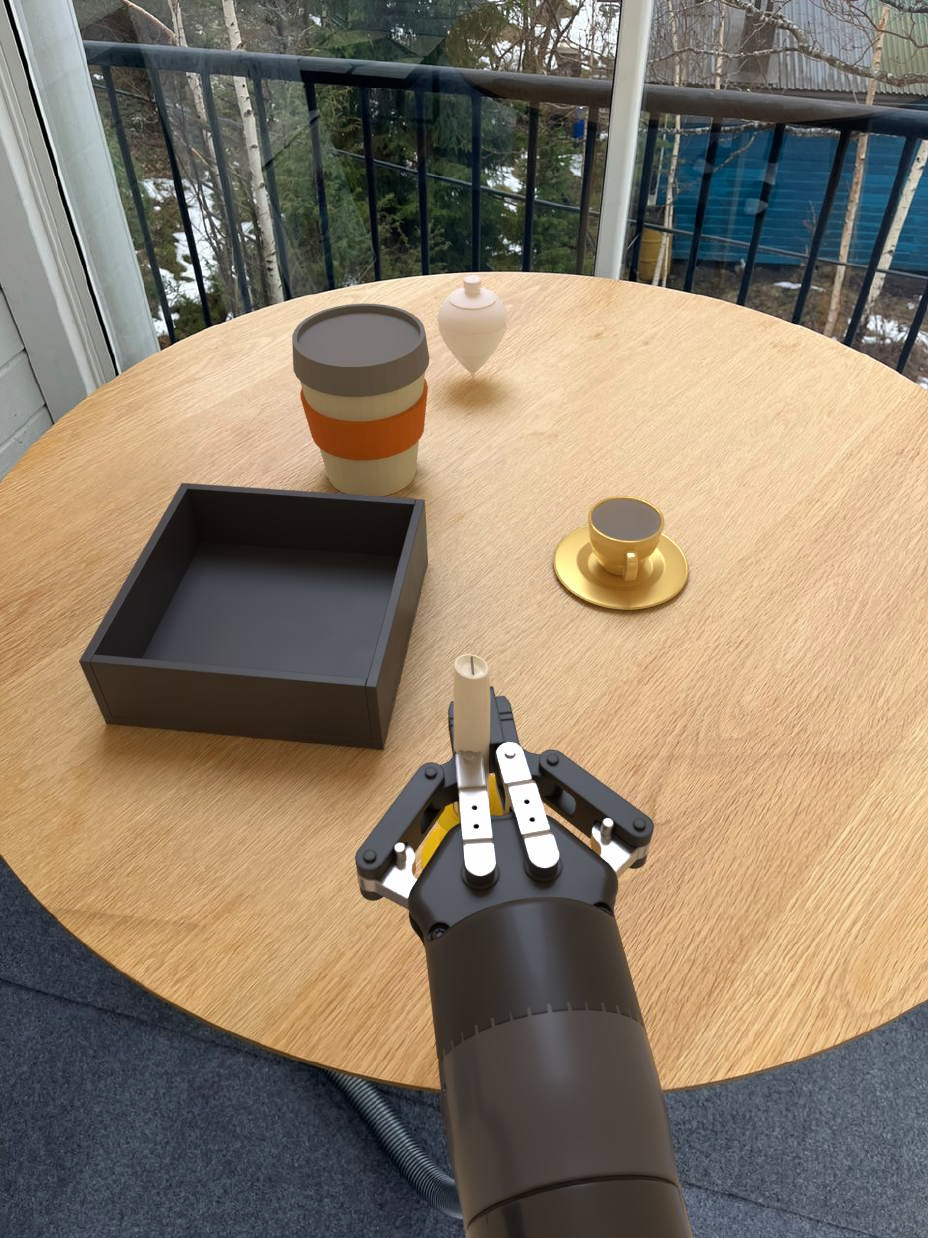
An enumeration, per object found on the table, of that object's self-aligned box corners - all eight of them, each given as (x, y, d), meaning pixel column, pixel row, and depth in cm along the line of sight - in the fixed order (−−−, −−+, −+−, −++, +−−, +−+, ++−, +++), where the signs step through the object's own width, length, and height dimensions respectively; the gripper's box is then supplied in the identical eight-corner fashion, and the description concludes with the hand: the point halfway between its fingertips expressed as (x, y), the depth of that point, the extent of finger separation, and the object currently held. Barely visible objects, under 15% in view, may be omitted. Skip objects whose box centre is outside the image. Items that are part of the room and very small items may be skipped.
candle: (511, 815, 51) (522, 607, 41) (528, 901, 48) (546, 696, 37) (416, 826, 51) (402, 618, 40) (426, 914, 47) (413, 710, 36)
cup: (547, 526, 88) (550, 478, 85) (674, 523, 88) (683, 476, 85) (558, 614, 80) (562, 566, 76) (699, 611, 80) (710, 563, 76)
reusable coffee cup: (306, 512, 90) (283, 371, 80) (313, 439, 99) (293, 304, 89) (436, 505, 91) (430, 365, 80) (431, 434, 100) (425, 299, 89)
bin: (105, 723, 72) (78, 661, 67) (198, 544, 87) (181, 482, 82) (383, 750, 70) (376, 687, 65) (428, 561, 85) (425, 499, 80)
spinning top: (443, 361, 111) (440, 261, 102) (507, 364, 110) (510, 263, 102) (436, 395, 105) (432, 293, 97) (504, 398, 105) (506, 295, 96)
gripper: (749, 994, 31) (617, 630, 43) (347, 1050, 30) (329, 658, 42) (708, 1080, 36) (601, 733, 49) (365, 1130, 35) (345, 761, 47)
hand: (475, 699), depth 45 cm, fingers closed
